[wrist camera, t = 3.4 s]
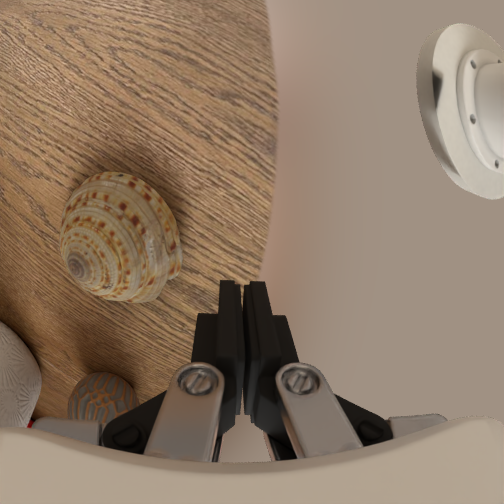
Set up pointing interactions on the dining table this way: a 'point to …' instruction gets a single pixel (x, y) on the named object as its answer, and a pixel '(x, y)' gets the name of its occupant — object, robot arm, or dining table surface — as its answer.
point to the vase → (101, 398)
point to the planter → (17, 380)
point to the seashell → (119, 238)
